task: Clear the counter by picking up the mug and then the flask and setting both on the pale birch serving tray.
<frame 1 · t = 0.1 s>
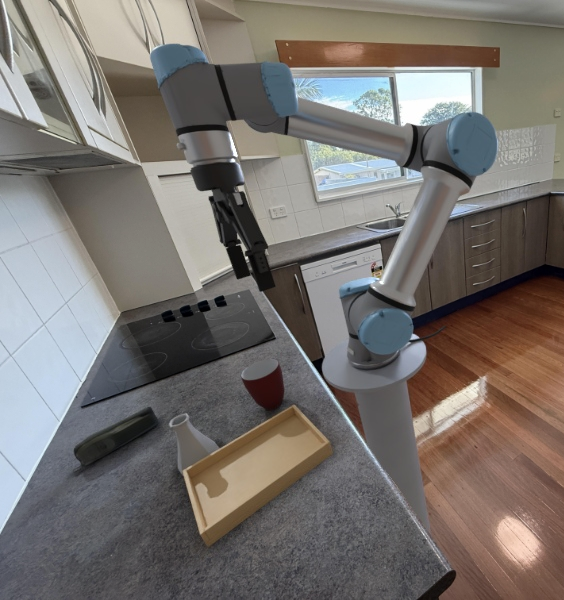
hand: (254, 282, 60), 30 cm above the worktop, tool pointing down, fingers open, 13 cm apart
tray: (262, 467, 57), on the worktop
flask: (200, 459, 61), on the worktop
mug: (270, 403, 74), on the worktop
dark green pencil case: (120, 445, 68), on the worktop
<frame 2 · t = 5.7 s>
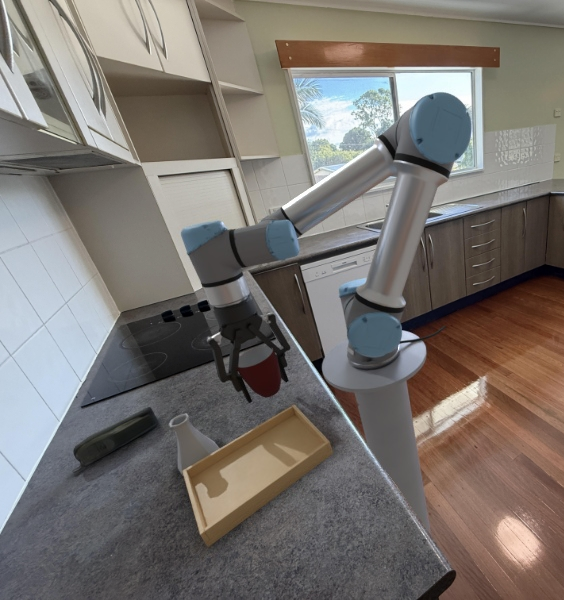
hand: (267, 389, 72), 4 cm above the worktop, tool pointing down, fingers closed on mug, 8 cm apart
mug: (268, 390, 72), point 3 cm above the worktop, touching gripper
everything else where it was.
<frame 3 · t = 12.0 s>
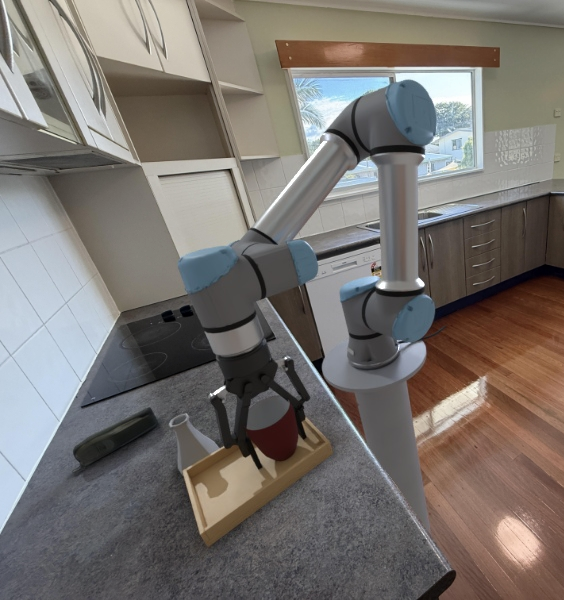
hand: (280, 448, 59), 1 cm above the worktop, tool pointing down, fingers closed on mug, 8 cm apart
mug: (281, 450, 59), point 1 cm above the worktop, touching gripper, tray
everything else where it was.
when the fingers open (1 cm above the worktop, at t = 12.1 s): mug stays where it is, resting on tray.
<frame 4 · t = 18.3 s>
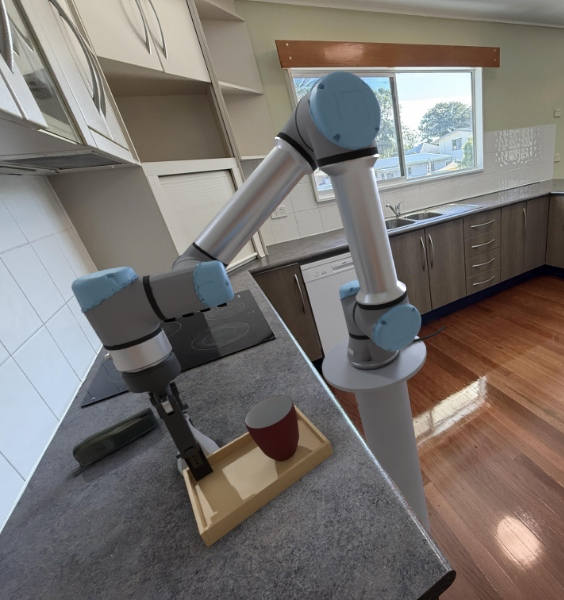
hand: (197, 456, 60), 1 cm above the worktop, tool pointing down, fingers open, 11 cm apart
mug: (281, 450, 59), point 1 cm above the worktop, touching tray
everything else where it was.
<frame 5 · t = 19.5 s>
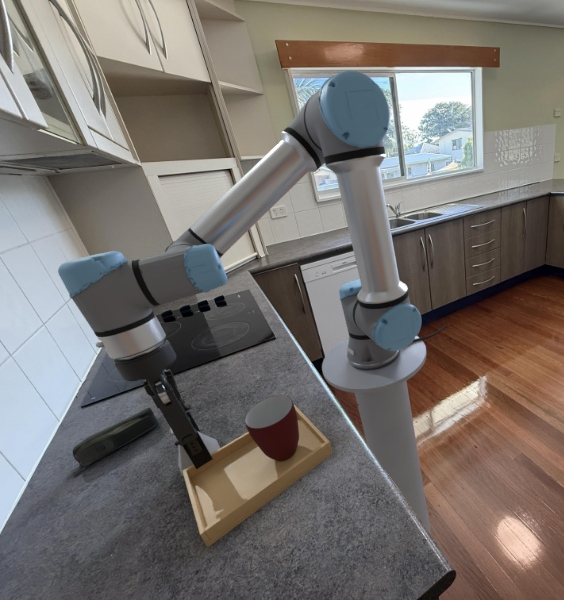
hand: (199, 451, 59), 3 cm above the worktop, tool pointing down, fingers open, 7 cm apart
flask: (201, 458, 60), point 1 cm above the worktop, touching gripper, tray
everything else where it was.
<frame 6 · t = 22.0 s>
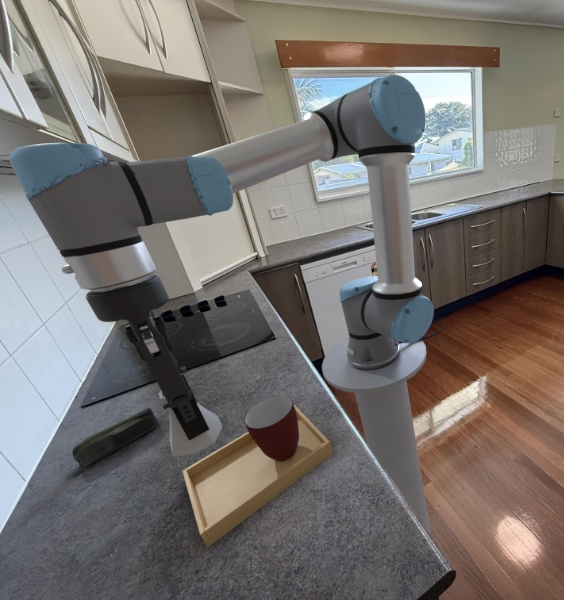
hand: (194, 422, 48), 15 cm above the worktop, tool pointing down
flask: (197, 437, 49), point 12 cm above the worktop, touching gripper
everything else where it was.
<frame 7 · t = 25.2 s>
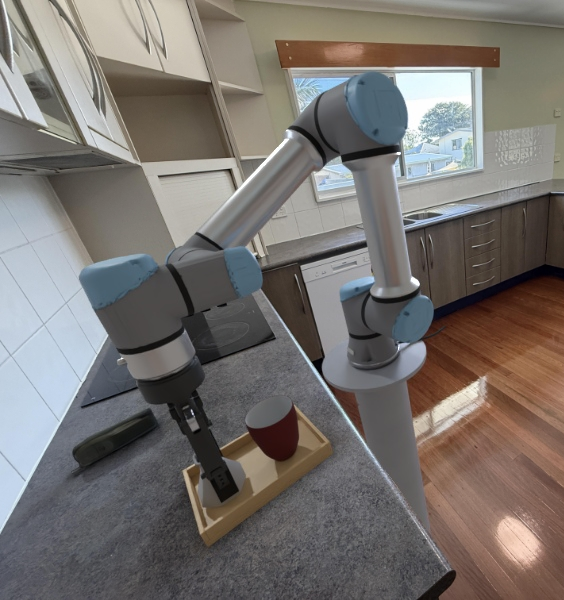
hand: (222, 477, 53), 3 cm above the worktop, tool pointing down, fingers open, 9 cm apart
flask: (223, 485, 52), point 2 cm above the worktop, touching gripper
everything else where it was.
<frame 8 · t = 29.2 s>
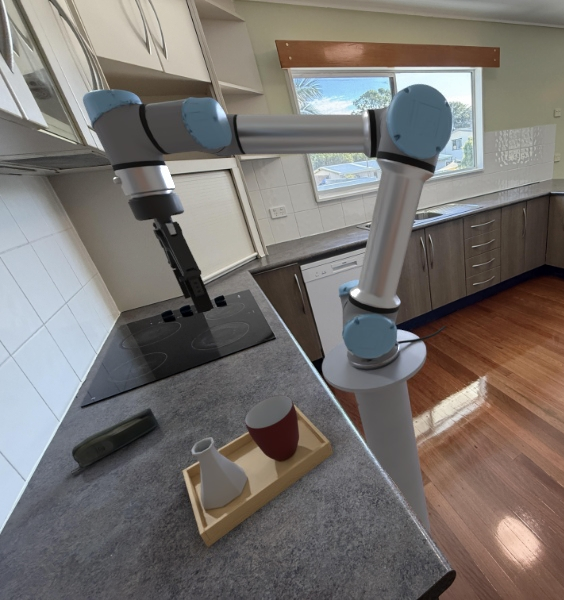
hand: (198, 303, 64), 27 cm above the worktop, tool pointing down, fingers open, 13 cm apart
flask: (225, 489, 53), point 1 cm above the worktop, touching tray
everything else where it was.
at the end: mug inside the target area in the tray (4.0 cm from its centre), point 0.8 cm above the tray's base; flask inside the target area in the tray (6.1 cm from its centre), point 0.8 cm above the tray's base; flask tilted 0° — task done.
